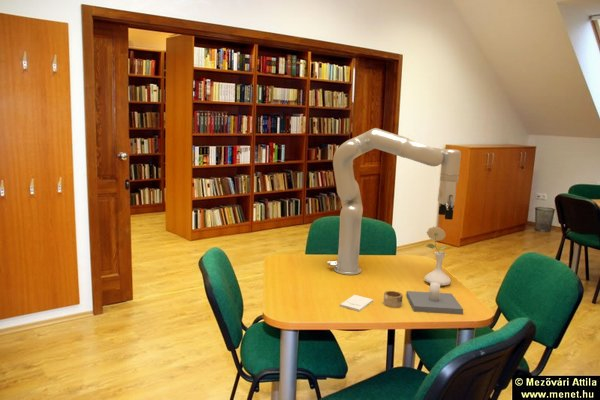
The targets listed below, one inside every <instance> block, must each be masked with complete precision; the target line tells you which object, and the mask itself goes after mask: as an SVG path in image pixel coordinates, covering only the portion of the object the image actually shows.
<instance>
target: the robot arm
mask: <svg viewBox="0 0 600 400" xmlns="http://www.w3.org/2000/svg"><path fill="white" fill-rule="evenodd" d="M374 149H376V150H378V151H382V152H385V153H389V154H390V155H391V154H392V155H394V156H398V157H400V158H404V159H408V160H411V161H414V162H417V163H420V164H422V165H423V164H424V165H426V166H429V167H438V166H441V167H440V175H439V176H440V178H439V181H440V184H439V189H438V196H437V201H438V203H439V206H438V215H440V216H444V219H445V220H453V217H454V209H455V208H454V207H455V206H454V205H455V202H456V193H457V183H459V175H460V168H461V159H462V158H461V157H462V152H461V150H459V149H452V148H451V149H450V148H445V149H444V148H438V147H431V146H428V145H425V144H421V143H419V142H416V141H415V140H411V139H410V138H408V137H406V136H403V135H399V134H396V133H392V132H390V131H387V130H384V129H380V128H378V127H375V128H371V129H369V130H368V131H365V132H364V133H361V134H359V135H358V136H355V137H353V138H350V139H348V140H346V141H345V142H343V143H342V144H341V145H339V147H338V148H337V149H336V151H335V152H334V154H333V157H332V158H333V159H332V167H333V174H334V179H335V185H336V193H337V195H338V197H339V199H340V201H341V202H340V203H341V207H342V208H341V209H340V214H339V231H338V232H339V237H338V250H337V251H338V253H337V258H336V260H334V261H333V260H327V266H330V267H333V271H334V272H336V273H338V274H342V275H346V276H347V275H349V276H353V275H359V274H361V273H362V268H361V267H359V262H360V261H359V258H360V248H361V246H360V244H361V234H362V233H361V232H362V217H363V211H364V207H363V202H362V196H361V191H360V185H359V183H358V181H357V180H356V179H355V178H356V177H355V174H354V167H353V162H354V159H356V158H358V157H359V156H361V155H363V154H365V153H367V152H370V151H372V150H374Z"/></svg>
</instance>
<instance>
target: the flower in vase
mask: <svg viewBox="0 0 600 400" xmlns="http://www.w3.org/2000/svg"><path fill="white" fill-rule="evenodd" d="M426 235H427V236H428V238H429V239H430V240H434V244H433V243H428V244H427V245H426V246H425V247H427V248H429V249H434V248H435V249H436V250H437V251H434V255H435V257H436V265H435V268H434V269H433V270H432V271H430V272H429V273H427V274H425V276H424V278H423V279H424V281H425V282H426V283H429V284H430V283H431V282H437V283H440V287H442V286H448V285H451V283H452V280H451V278H450V277H449V275H448V274H447V273H445V272H444V270H443V269H442V268H443V267H442V266H443V260H444V258H445V256H446V255H447V253H446V252H444V251H443V250H444V249H446V248H447V247H448V245H445V246H441V247H439V248H438V247H437V244H436V241H437V242H438V241H443V240H445V238H446V237H447V234H446V231H444V229H443V228H441V227H440V226H439V227H438V226H432V227H429V228H428V229H427V231H426Z"/></svg>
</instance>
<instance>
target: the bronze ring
mask: <svg viewBox="0 0 600 400" xmlns="http://www.w3.org/2000/svg"><path fill="white" fill-rule="evenodd" d="M403 297H404V295H403V293H401V292H399V291H395V290H388V291H384V292H383V305H384V306H386V307H389V308H395V309H396V308H401V307H402V306H403Z"/></svg>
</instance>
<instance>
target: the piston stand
mask: <svg viewBox="0 0 600 400" xmlns="http://www.w3.org/2000/svg"><path fill="white" fill-rule="evenodd" d="M429 284H430V285H429V292H428V291H414V290H406V291H405V292H406V294H405V295H406V298H407V300H408V303H409V304H410V306H411V308H412V310H413V312H417V313H419V312H420V313H437V314H451V315H452V314H454V315H463V314H464V308H463V307H462V305H461V304H460V303H459V301H458V300H457V299H456V297H455V296H454V294H453V293H448V292H447V293H446V292H440V290H441V286H440V283H437V282H431V283H429Z"/></svg>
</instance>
